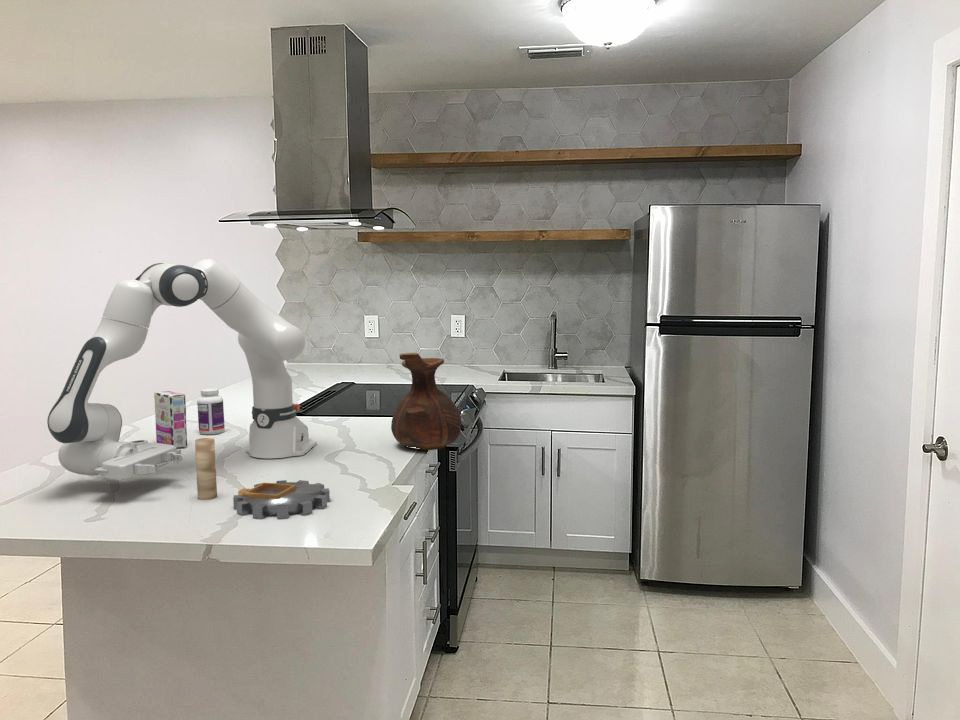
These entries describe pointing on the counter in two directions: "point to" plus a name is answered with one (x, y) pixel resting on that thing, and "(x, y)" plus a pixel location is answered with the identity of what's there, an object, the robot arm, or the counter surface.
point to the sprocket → (281, 499)
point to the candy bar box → (171, 419)
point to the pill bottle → (210, 412)
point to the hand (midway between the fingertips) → (168, 463)
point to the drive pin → (206, 468)
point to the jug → (425, 408)
